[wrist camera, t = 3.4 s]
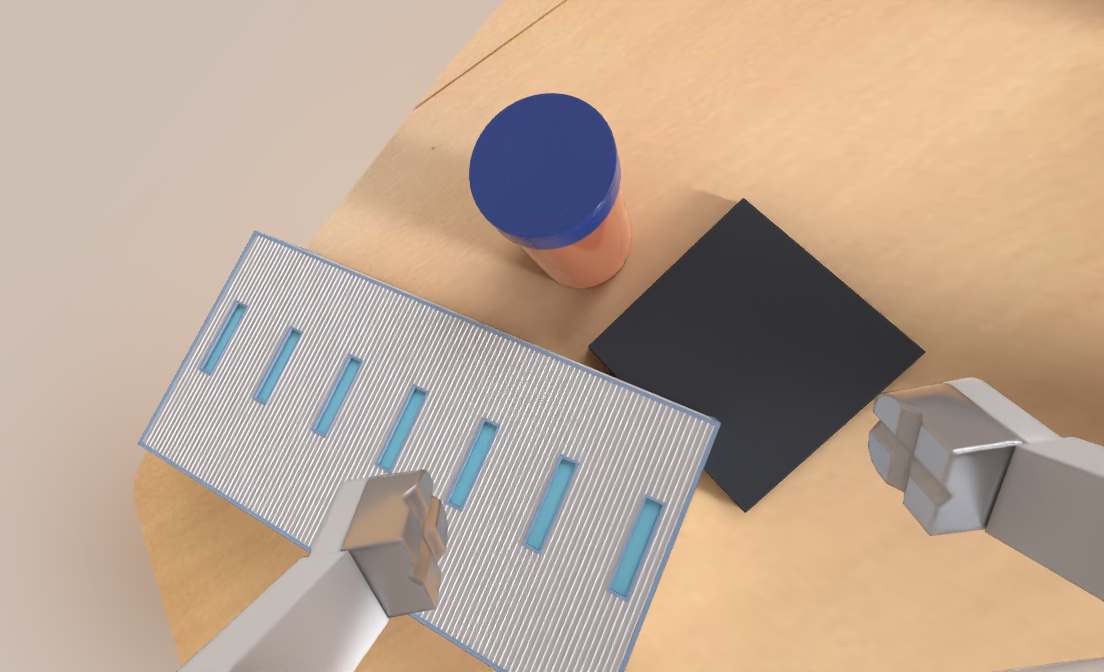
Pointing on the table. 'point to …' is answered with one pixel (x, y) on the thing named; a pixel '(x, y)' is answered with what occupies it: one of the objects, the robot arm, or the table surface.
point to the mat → (756, 349)
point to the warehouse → (441, 451)
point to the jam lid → (546, 171)
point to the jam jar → (590, 252)
